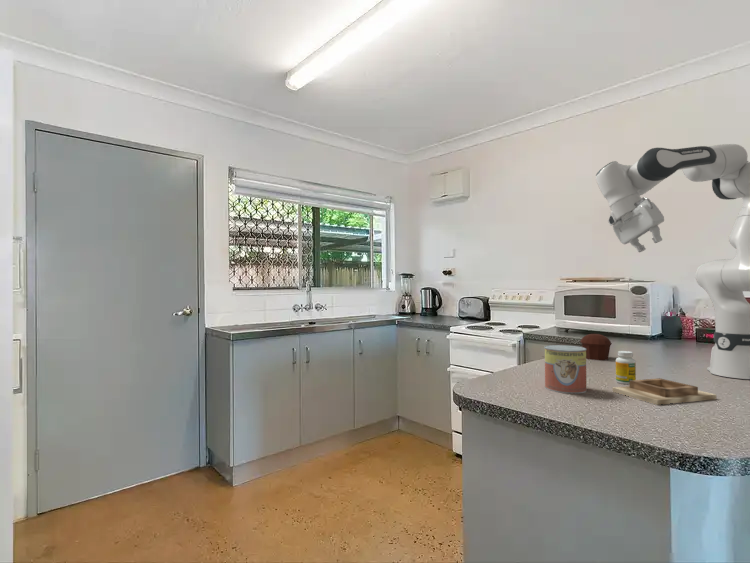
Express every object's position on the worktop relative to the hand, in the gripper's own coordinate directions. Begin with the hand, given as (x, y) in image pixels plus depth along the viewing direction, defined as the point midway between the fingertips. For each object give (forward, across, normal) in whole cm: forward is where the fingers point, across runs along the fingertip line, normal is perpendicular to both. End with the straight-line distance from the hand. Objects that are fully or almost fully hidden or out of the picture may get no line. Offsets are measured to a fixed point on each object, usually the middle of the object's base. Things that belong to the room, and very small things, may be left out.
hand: (650, 246), depth 133 cm
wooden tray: (+40, -7, +22) cm, 46 cm away
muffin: (+30, +52, +10) cm, 61 cm away
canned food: (+30, -1, +44) cm, 53 cm away
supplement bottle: (+36, +8, +23) cm, 43 cm away
